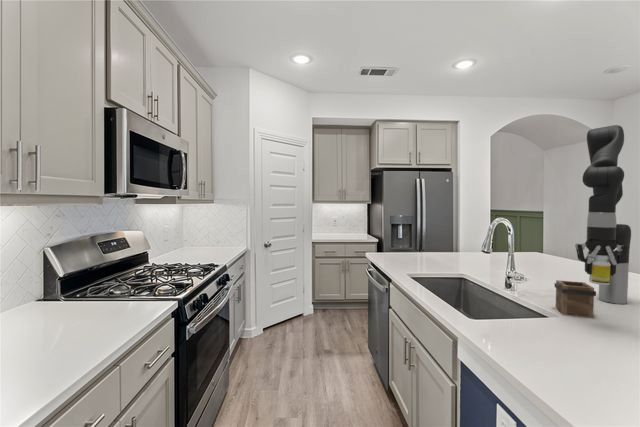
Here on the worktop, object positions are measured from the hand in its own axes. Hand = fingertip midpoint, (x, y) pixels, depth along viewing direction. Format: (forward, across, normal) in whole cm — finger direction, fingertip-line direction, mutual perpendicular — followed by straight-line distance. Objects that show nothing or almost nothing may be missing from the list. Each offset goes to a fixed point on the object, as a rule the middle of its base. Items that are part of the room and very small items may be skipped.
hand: (599, 274), depth 112 cm
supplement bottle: (+3, 0, 0) cm, 3 cm away
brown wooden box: (+18, +3, -13) cm, 22 cm away
